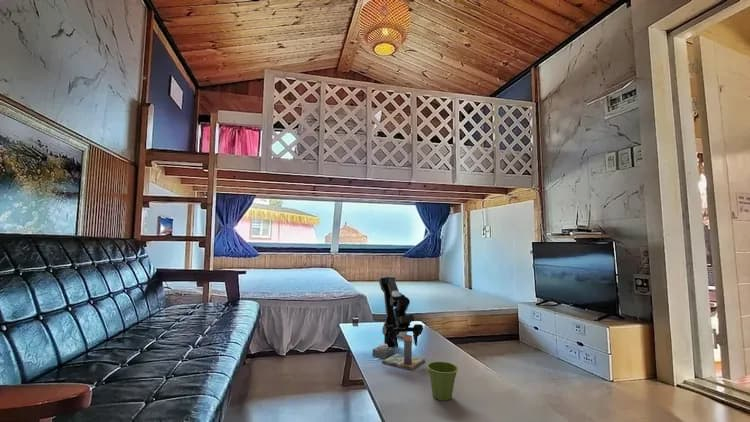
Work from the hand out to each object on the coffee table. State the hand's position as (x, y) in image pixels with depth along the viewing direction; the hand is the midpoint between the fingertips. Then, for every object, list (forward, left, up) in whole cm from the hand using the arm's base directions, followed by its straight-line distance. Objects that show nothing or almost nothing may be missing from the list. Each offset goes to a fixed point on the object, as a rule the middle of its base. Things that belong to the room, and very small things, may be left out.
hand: (406, 346), depth 173 cm
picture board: (-3, +2, -9) cm, 9 cm away
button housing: (-17, +6, -9) cm, 20 cm away
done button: (-17, +6, -7) cm, 19 cm away
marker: (+1, -1, -7) cm, 8 cm away
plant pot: (+27, -23, -9) cm, 36 cm away
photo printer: (-27, +42, -9) cm, 51 cm away
